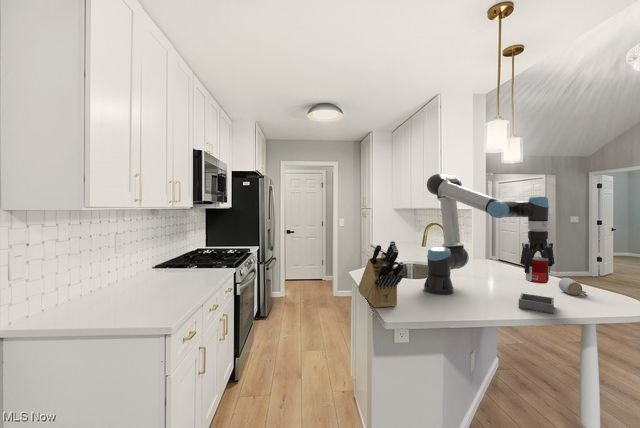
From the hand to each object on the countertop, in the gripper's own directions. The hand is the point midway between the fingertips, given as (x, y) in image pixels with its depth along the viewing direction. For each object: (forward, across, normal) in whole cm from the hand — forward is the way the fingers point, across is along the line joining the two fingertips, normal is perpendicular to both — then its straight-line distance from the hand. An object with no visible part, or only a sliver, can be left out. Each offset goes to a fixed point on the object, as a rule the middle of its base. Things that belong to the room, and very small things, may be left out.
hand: (537, 280), depth 141 cm
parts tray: (+13, 0, 0) cm, 13 cm away
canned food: (+1, 0, 0) cm, 1 cm away
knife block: (+13, -69, +16) cm, 72 cm away
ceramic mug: (+13, +37, +18) cm, 43 cm away
